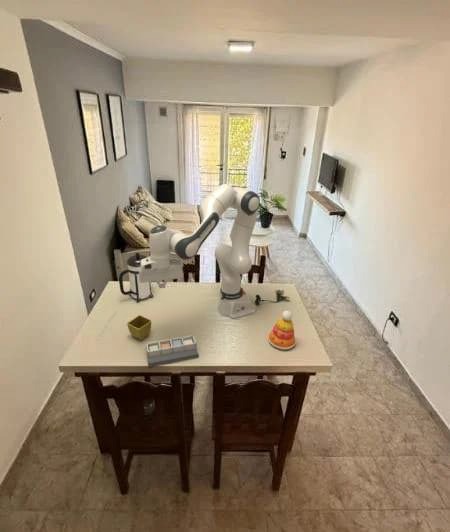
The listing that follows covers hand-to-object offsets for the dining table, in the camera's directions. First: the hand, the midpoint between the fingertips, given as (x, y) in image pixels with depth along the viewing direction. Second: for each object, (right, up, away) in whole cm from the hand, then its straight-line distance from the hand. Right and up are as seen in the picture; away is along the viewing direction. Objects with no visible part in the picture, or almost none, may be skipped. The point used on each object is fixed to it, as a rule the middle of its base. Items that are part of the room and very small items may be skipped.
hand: (162, 287), depth 145 cm
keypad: (+4, -31, +3) cm, 32 cm away
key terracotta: (+2, -31, +2) cm, 31 cm away
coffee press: (-23, -9, +44) cm, 51 cm away
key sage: (-4, -32, 0) cm, 32 cm away
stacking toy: (+59, -29, +13) cm, 67 cm away
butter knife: (-34, -22, +19) cm, 44 cm away
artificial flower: (+59, -12, +47) cm, 77 cm away
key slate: (+7, -30, +3) cm, 31 cm away
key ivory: (+12, -30, +5) cm, 33 cm away
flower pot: (-14, -26, +12) cm, 32 cm away
